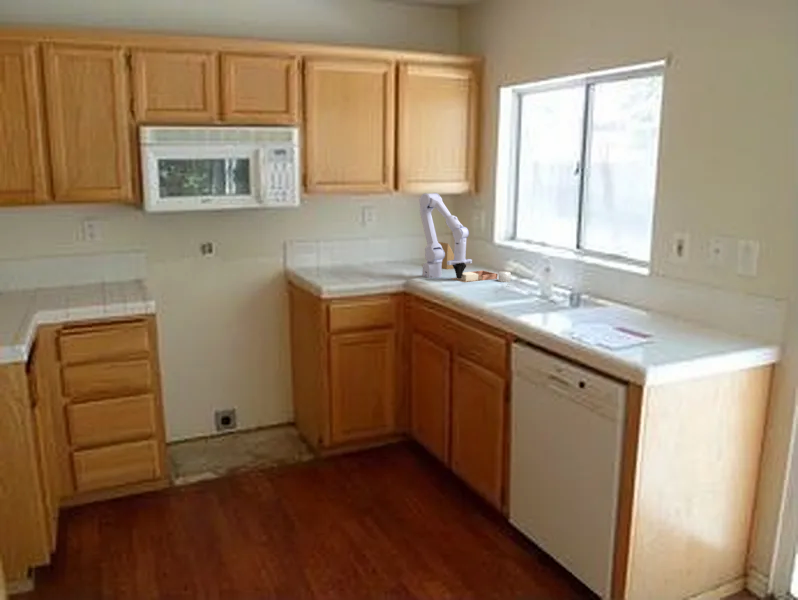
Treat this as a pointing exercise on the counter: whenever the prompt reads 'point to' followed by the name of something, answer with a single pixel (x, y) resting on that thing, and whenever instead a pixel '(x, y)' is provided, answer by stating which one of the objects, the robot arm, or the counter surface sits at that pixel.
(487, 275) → the open-sided wooden box
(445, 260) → the sandwich container
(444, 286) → the counter surface
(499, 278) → the grey rounded piece
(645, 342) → the counter surface
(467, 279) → the carton
